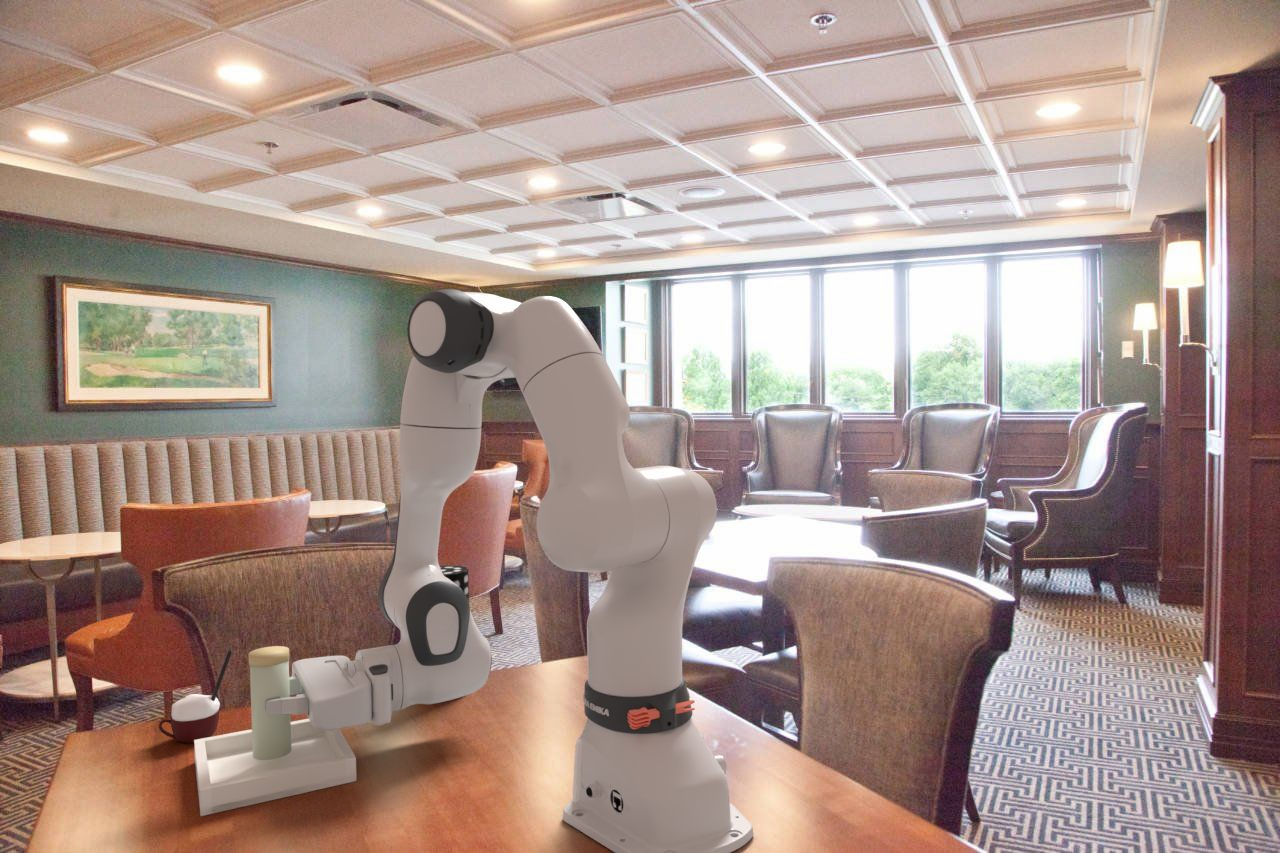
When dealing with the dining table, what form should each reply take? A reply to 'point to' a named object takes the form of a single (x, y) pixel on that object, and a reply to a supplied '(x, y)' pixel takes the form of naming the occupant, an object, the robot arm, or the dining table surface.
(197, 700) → the cocoa
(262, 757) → the tea tin
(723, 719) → the dining table surface
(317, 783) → the dish
